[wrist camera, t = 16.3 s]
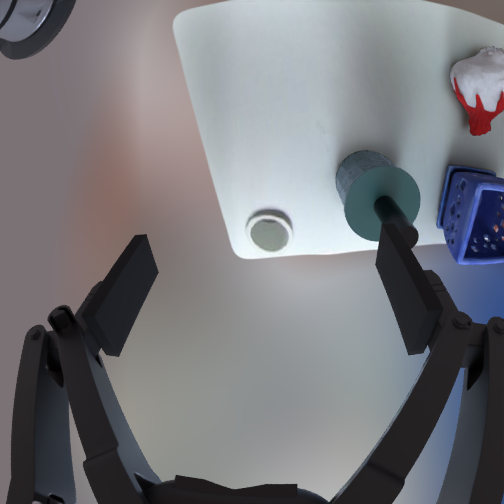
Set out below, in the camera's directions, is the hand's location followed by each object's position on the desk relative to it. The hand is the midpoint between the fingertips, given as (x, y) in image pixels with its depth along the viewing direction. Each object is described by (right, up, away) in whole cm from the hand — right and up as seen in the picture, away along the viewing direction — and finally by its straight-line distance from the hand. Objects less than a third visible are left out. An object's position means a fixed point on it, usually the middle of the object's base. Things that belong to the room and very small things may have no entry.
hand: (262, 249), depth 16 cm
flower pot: (+36, +10, +25) cm, 45 cm away
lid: (+16, +6, +19) cm, 26 cm away
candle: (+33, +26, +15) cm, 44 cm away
